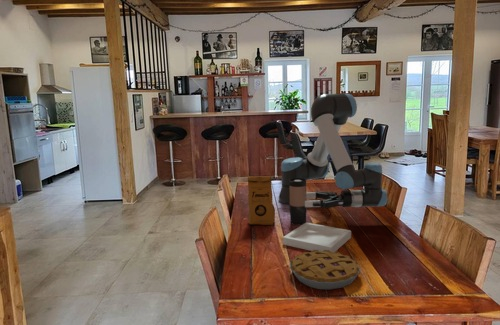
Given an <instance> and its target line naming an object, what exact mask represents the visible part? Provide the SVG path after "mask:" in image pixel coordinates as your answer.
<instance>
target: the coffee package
mask: <svg viewBox="0 0 500 325" xmlns="http://www.w3.org/2000/svg"><path fill="white" fill-rule="evenodd" d="M247 188H248V194H247V199H248V208H249V209H248V220H247V222H248V224H249V225H256V226H257V225H260V226H274V223H275V222H276V209H275V206H274V203H273V187H272V176H248V177H247Z"/></svg>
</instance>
